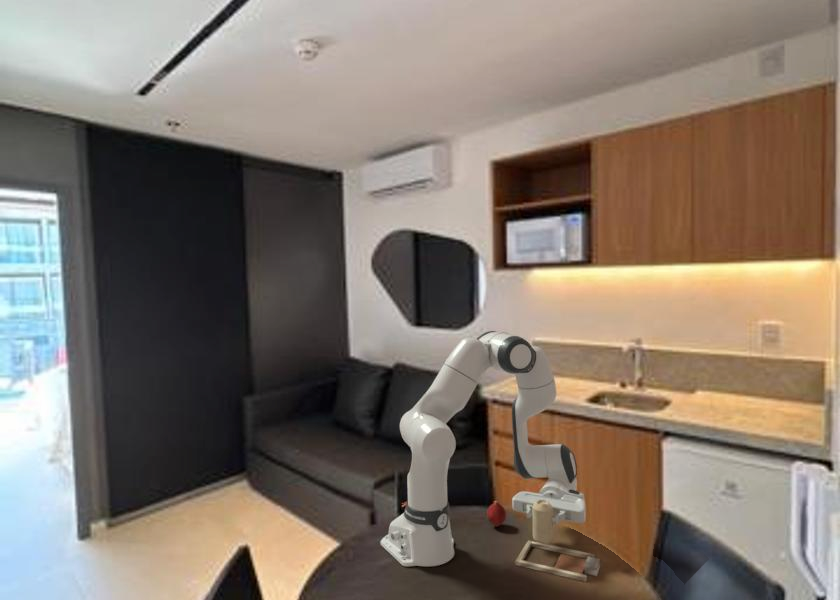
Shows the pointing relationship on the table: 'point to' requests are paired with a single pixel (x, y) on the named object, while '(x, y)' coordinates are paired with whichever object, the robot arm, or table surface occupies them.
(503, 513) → the onion
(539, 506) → the candle
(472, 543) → the table surface
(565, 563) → the beige frame
